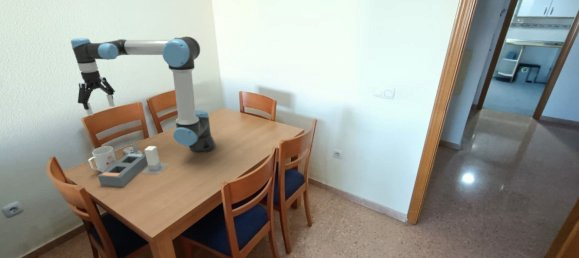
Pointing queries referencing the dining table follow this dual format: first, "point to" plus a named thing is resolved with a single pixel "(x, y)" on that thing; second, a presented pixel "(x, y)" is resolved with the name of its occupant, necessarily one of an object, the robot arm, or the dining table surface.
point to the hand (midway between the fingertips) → (101, 110)
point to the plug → (152, 158)
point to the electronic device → (132, 149)
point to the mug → (103, 158)
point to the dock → (123, 170)
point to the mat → (155, 170)
